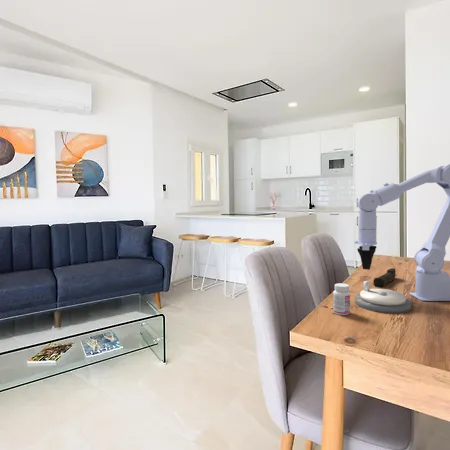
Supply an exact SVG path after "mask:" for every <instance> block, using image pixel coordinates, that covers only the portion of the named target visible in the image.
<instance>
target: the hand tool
mask: <svg viewBox="0 0 450 450" xmlns="http://www.w3.org/2000/svg"><path fill="white" fill-rule="evenodd" d="M396 272H397V271H396V269H395V268H389V269H387V271H386V273H384V274H383V275H380V276H378V277H374V278H373V286H374V287H375V288H378V289H384V288H385V285H387V284H389V283H390V282H394V281H395V279H396V275H397V274H396Z"/></svg>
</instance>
